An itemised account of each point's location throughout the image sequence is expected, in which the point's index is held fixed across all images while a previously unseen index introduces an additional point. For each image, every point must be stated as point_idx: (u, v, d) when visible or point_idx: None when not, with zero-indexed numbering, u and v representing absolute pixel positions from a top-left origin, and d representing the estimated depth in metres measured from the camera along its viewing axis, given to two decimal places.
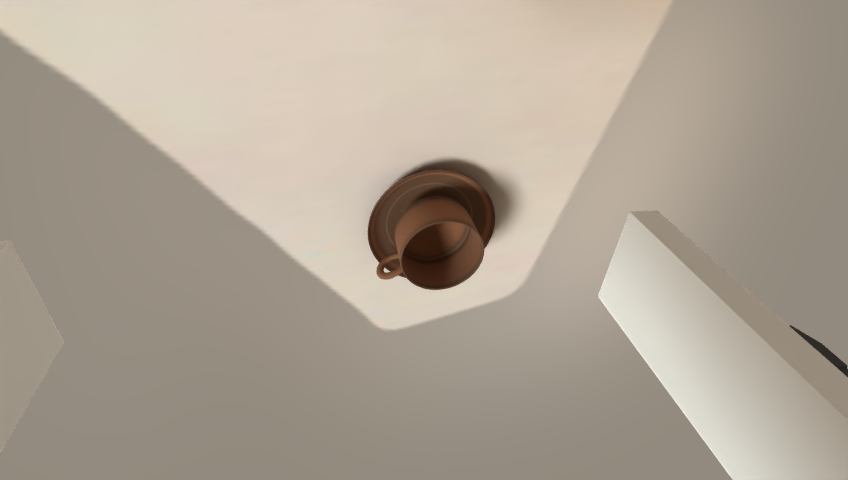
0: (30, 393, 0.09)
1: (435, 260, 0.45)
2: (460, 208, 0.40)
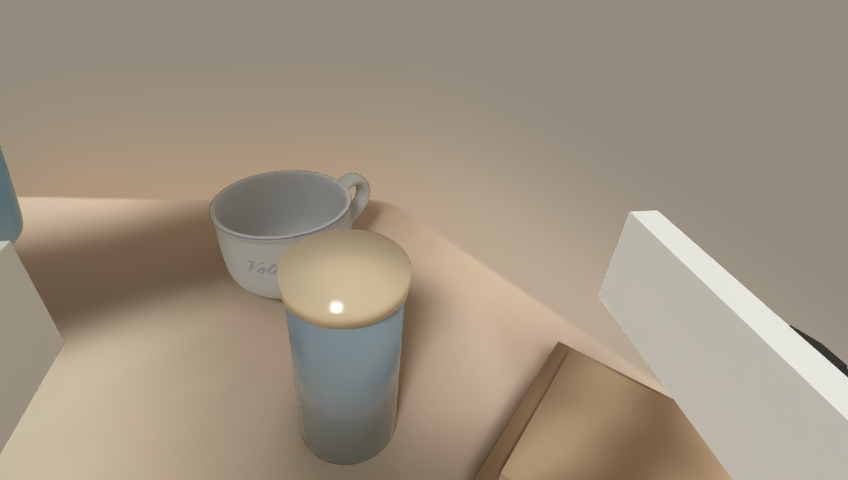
0: (29, 392, 0.09)
1: None
2: None
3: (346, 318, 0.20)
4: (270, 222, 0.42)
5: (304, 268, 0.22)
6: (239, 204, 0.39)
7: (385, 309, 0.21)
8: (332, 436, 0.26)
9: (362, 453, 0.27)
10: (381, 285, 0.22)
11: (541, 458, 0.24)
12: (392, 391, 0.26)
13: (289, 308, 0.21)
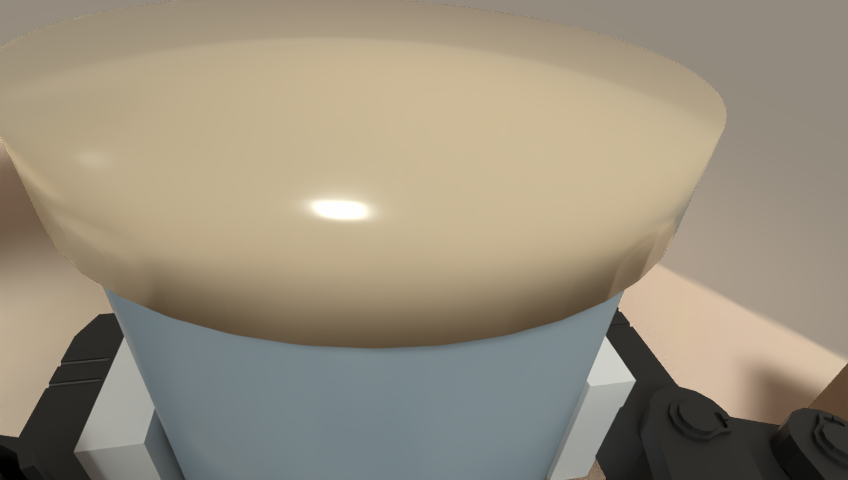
0: None
1: None
2: None
3: (430, 261, 0.02)
4: None
5: (176, 39, 0.04)
6: None
7: (669, 212, 0.03)
8: None
9: None
10: (595, 95, 0.04)
11: None
12: None
13: (39, 217, 0.03)
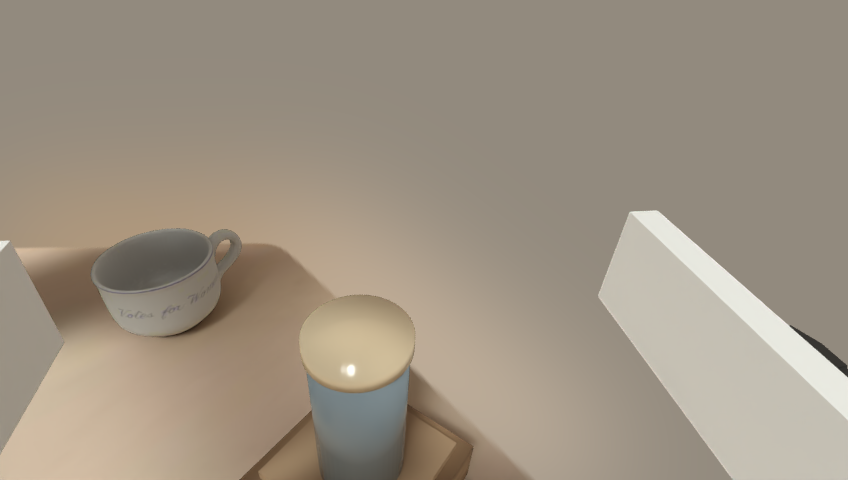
0: (30, 392, 0.09)
1: None
2: None
3: (360, 384, 0.24)
4: (158, 270, 0.51)
5: (322, 337, 0.25)
6: (126, 258, 0.48)
7: (393, 374, 0.24)
8: (347, 477, 0.29)
9: None
10: (389, 352, 0.25)
11: (293, 460, 0.33)
12: (400, 436, 0.29)
13: (310, 374, 0.24)
